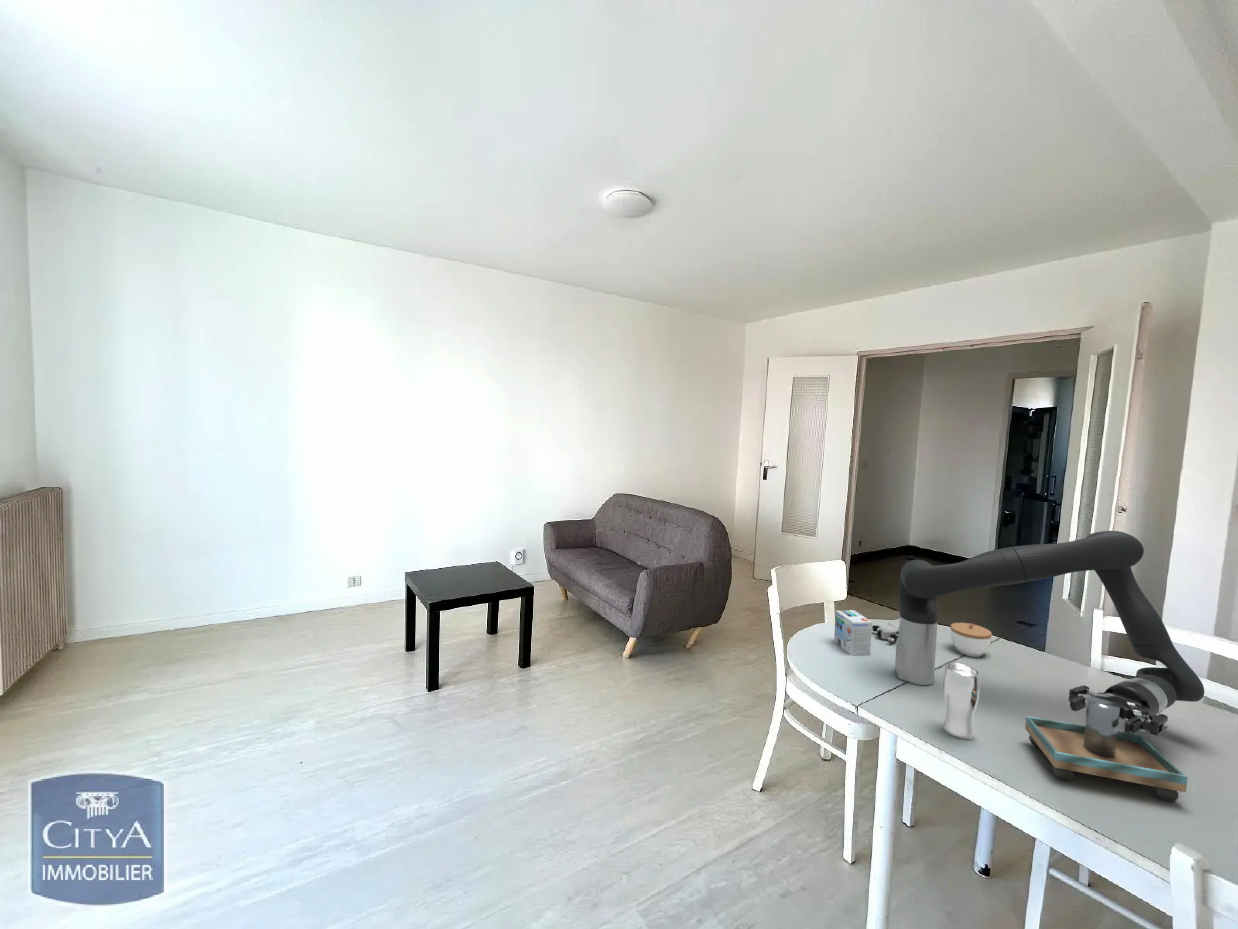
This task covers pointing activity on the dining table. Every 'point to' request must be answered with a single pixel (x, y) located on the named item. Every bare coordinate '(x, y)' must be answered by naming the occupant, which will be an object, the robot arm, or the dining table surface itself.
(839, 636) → the light bulb box
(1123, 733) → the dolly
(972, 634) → the lidded jar
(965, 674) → the beer glass
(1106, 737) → the metal part
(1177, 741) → the dining table surface
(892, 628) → the robot toy
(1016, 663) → the dining table surface
